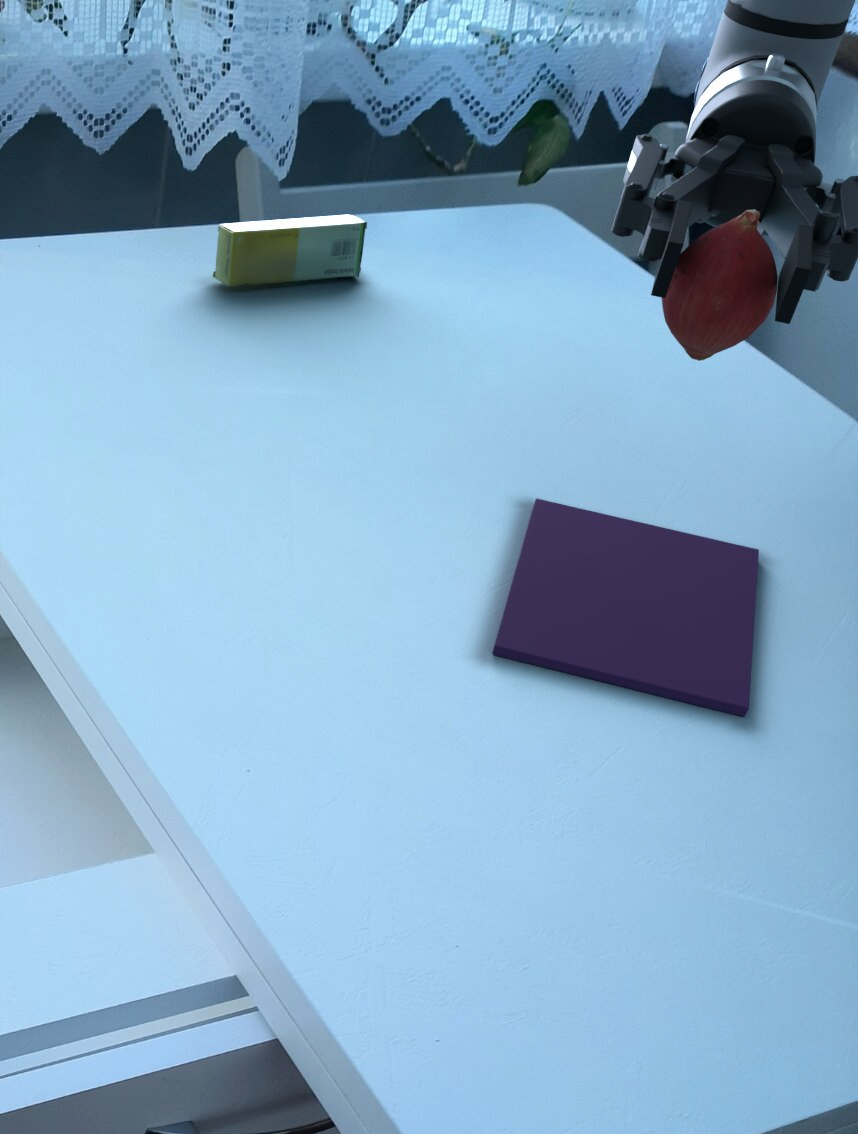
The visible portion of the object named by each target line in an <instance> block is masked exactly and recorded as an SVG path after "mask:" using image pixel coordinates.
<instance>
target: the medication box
mask: <svg viewBox="0 0 858 1134" xmlns="http://www.w3.org/2000/svg"><path fill="white" fill-rule="evenodd" d="M366 230H368V221H365V220H364V219H362V218H360V217H358V216H355V215H352V214H339V215H338V214H337V215H326V216H311V217H299V218H285V219H272V220H257V221H243V222H231V223H219V224H218V226H217V232H218V234H217V242H216V253H215V267H214V268H215V270H214V271H213V273H212V278H214V279H215V280H217V281H219V283H222V284H224V285H225V286H227V287H239V286H249V285H251V286H252V285H262V284H263V285H264V284H275V283H286V282H287V283H288V282H299V281H310V280H311V281H312V280H324V279H335V278H347V277H356V278H359V277H360V276H361V271H362V260H363V254H364V253H363V252H364V246H365V237H366Z"/></svg>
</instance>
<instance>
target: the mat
mask: <svg viewBox="0 0 858 1134" xmlns="http://www.w3.org/2000/svg"><path fill="white" fill-rule="evenodd" d="M759 554H760V549H758V548H753V547H749V546H745V545H741V544H737V543H731V542H728V541H723V540H718V539H714V538H710V537H707V536H706V537H705V536H701V535H697V534H692V533H689V532H684V531H680V530H676V529H671V528H667V527H662V526H658V525H653V524H650V523H645V522H641V521H638V520H637V521H636V520H632V519H627V518H623V517H619V516H614V515H610V514H606V513H603V512H597V511H593V510H589V509H584V508H580V507H575V506H570V505H567V504H562V503H558V502H553V501H549V500H545V499H542V498H535V499H534V503H533V506H532V510H531V514H530V517H529V521H528V524H527V528H526V532H525V535H524V539H523V542H522V546H521V549H520V553H519V556H518V560H517V564H516V567H515V570H514V575H513V578H512V582H511V585H510V589H509V591H508V595H507V599H506V603H505V606H504V610H503V613H502V616H501V621H500V624H499V628H498V631H497V634H496V639H495V642H494V646H493V649H492V655H494V656H498V657H502V658H506V659H510V660H515V661H519V662H521V663H525V664H530V665H535V666H538V667H543V668H546V669H551V670H555V671H558V672H563V673H567V674H570V675H574V676H577V677H578V676H579V677H583V678H587V679H591V680H595V681H599V682H603V683H607V684H611V685H615V686H620V687H623V688H627V689H632V690H635V691H639V692H643V693H648V694H650V695H656V696H659V697H663V698H667V699H671V700H675V701H679V702H684V703H689V704H692V705H695V706H700V707H703V708H708V709H712V710H716V711H720V712H724V713H727V714H731V715H736V716H740V717H746V716H747V713H748V711H749V709H750V694H751V679H752V665H753V649H754V633H755V632H754V631H755V618H756V617H755V616H756V603H757V602H756V601H757V586H758V585H757V584H758V573H759V571H758V569H759Z"/></svg>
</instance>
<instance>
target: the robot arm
mask: <svg viewBox="0 0 858 1134" xmlns="http://www.w3.org/2000/svg"><path fill="white" fill-rule="evenodd" d="M856 1H857V0H727V2H726V4H725V8H724V9H723V12H722V15H721V18H720V21H719V24H718V27H717V31H716V33H715V37H714V40H713V43H712V46H711V49H710V52H709V56H708V57H707V59H706V60H705V62H704V64H703V66H702V69H701V73H700V76H699V80H698V82H697V84H696V85H695V91H694V95H693V97H694V98H693V104H694V106H693V107H694V109H693V112H692V114H691V117H690V122H689V126H688V130H687V133H686V138H685V142H684V143H682V144H681V145H680V146H678V147H677V148H676V150H675V152H670V151H669V152H668V150H669V145H667V144H665V143H660V142H659V141H658V139H657V138H655V137H654V136H652V135H651V134H649V133H643V134H638V135H636V136H635V140H634V143H633V146H632V150H631V152H630V156H629V160H628V162H627V165H626V169H625V173H624V175H623V180H622V182H623V184H624V186H623V190H622V193H621V196H620V200H619V203H618V206H617V210H616V213H615V217H614V220H613V222H612V226H611V229H610V231H611V232H612V234H614V235H615V236H617V237H621V238H623V237H631V236H633V234H634V232H635V231H636V232H638V233H640V234H642V236H643V237H642V240H641V243H640V247H639V249H638V253H637V257H638V258H639V259H641V260H643V261H647V262H658V264H657V268H656V272H655V276H654V281H653V285H652V289H651V293H650V296H653V297H657V298H661V299H662V298H666V295H667V292H668V289H669V286H670V283H671V280H672V277H673V274H674V271H675V268H676V265H677V262H678V259H679V256H680V254H681V253H682V252H683V251H682V250H683V247H684V244H685V240H686V234H687V230H688V228H690V227H691V226H692V225H693V224H695V223H698V224H703V223H706V224H708V225H710V226H712V227H713V228H715V227H717V226H719V225H721V224H724V223H727V222H728V221H730V220H732V219H733V218H735V217H737V216H739V215H741V214H743V213H744V212H745V211H746V210H754V209H755V210H756V211H759V215H760V218H759V222H758V227H757V230H758V231H759V233H760V234H761V236H762V237H769V238H770V240H771V241H772V243H773V244H774V246H775V248H776V249H777V250H778V252H779V253H780V255H781V256H782V259H784V260H783V263H782V265H781V268H780V271H779V273H778V280H777V292H776V303H775V313H774V314H775V315H774V322H777V323H783V324H787V325H790V324H791V322H792V319H793V317H794V315H795V312H796V309H797V307H798V304H799V302H800V300H801V297H802V294H803V292H804V291H810V292H816V291H818V290H819V289H820V287H821V284H822V283H823V279H824V277H825V274H826V276H827V277H828V278H830V279H832V280H833V281H835V282H847V281H849V280H850V277H851V276H852V273H853V271H854V269H855V266H856V264H857V261H858V175H851V176H849V177H848V178H846V179H843V178H836V179H835V180H834V181H833V183H832V184H830V183H827V182H823V172H822V170H821V169H820V168H819V167H818V166H816V165H815V164H816V163H815V162H816V151H817V149H816V148H817V119H818V105H819V102H820V98H821V95H822V92H823V89H824V86H825V84H826V82H827V79H828V76H829V75H830V74H829V73H830V71H831V69H832V67H833V66H832V65H833V63H834V61H835V58H836V56H837V53H838V50H839V48H840V44H841V43H842V42H841V41H842V39H843V36H844V33H845V32H846V29H847V26H848V23H849V21H850V16H851V14H852V11H853V8H854V6H855V2H856ZM666 176H668V178H669V181H670V183H671V184H669V185H668V186H666V187H665V188H663V189H662V190H661V191H659V192H658V193H657V194H656V196H655V198H653V197H651V196H650V194H651V192H654V191H656V188H657V186H658V182H659V181H662V180H664V179H665V178H666Z"/></svg>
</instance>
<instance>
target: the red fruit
mask: <svg viewBox="0 0 858 1134" xmlns="http://www.w3.org/2000/svg"><path fill="white" fill-rule="evenodd" d="M759 218H760V215H759V211H756V210H755V209H754V210H746V211H745V212H744V213H743V214H741V215H739V216H737V217H735V218H733V219H732V220H730V221H728V222H727V223H724V224H721V225H719V226H717V227H713V228H711V229H709V230H707V231H706V232H704V233H702V234H701V235H700V236H699V237H698V238H696V239H695V240H694V241H692V242H691V243H690V244H689V245H688V246H687V247H685V248H684V250H683V251H681V253H680V256H679V259H678V262H677V265H676V268H675V271H674V274H673V277H672V280H671V283H670V286H669V289H668V292H667V295H666V298H661V307H662V313H663V319H664V321H665V324H666V326H667V328H668V329H669V332H670V333H671V335H672V336H673V338H674V339H675V340H676V341H677V342H678V344H679V345H680V346H681V347H682V348H683V350H684V351H685V353H686V354H687V355H688V357H689V358H690V359H692V360H697V361H699V362H700V361H705V360H707V359H709V358H711V357H713V356H714V355H716V354H718V353H720V352H723V351H725V350H728V349H732V348H733V347H735V346H737V345H738V344H740V343H742V342H743V341H745V340H747V339H749V337H750V336H751V335H752V334H753V333H754V332H755V331H756V330H757V329H758V328H760V327H761V325H763V324H764V322H765V321H766V320H767V318H768V317H769V314H770V313H771V311H772V309H773V307H774V305H775V300H776V298H777V289H778V277H779V275H778V271H777V265H776V261H775V258H774V254H773V252H772V250H771V247H770V245H769V243H768V242H767V241H766V239H765V238H764V236H761V234H760V233H759V231H758V230H757V227H758V222H759Z"/></svg>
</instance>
